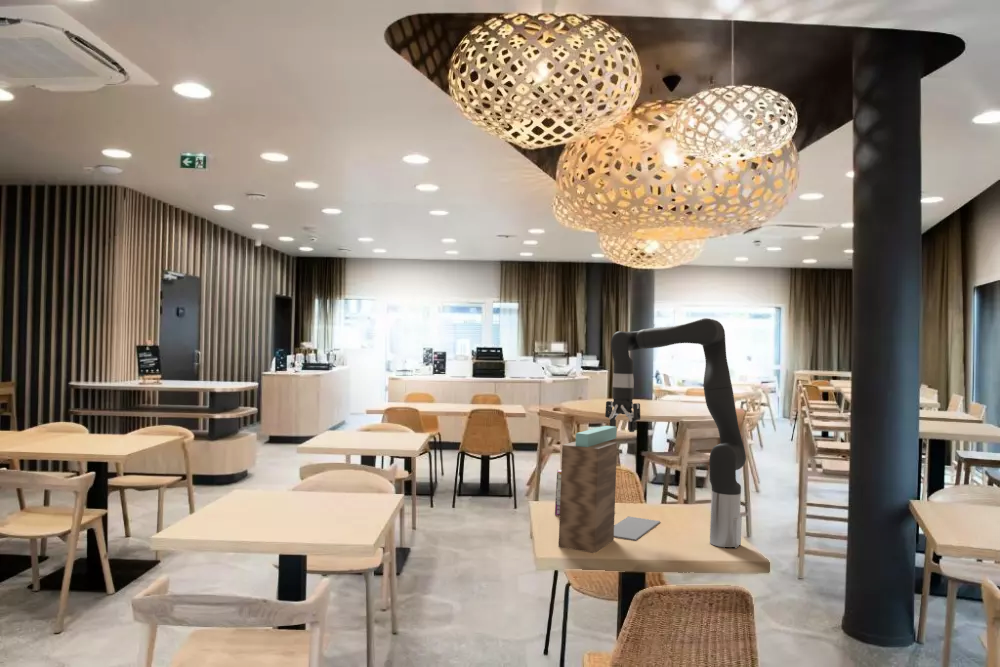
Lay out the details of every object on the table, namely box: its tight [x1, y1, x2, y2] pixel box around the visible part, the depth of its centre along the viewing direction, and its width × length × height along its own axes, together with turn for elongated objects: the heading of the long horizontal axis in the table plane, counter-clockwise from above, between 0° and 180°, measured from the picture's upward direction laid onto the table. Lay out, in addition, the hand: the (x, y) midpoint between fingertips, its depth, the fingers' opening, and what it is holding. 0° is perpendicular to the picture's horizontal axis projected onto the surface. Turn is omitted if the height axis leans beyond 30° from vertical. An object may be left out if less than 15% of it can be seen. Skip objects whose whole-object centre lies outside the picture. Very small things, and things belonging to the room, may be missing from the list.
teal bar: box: [575, 425, 618, 447], centre depth 239 cm, size 4×28×4 cm, turn 152°
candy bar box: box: [554, 469, 561, 516], centre depth 272 cm, size 11×5×16 cm, turn 84°
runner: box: [614, 516, 661, 542], centre depth 255 cm, size 12×30×1 cm, turn 152°
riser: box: [558, 440, 618, 553], centre depth 234 cm, size 12×18×32 cm, turn 152°
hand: (622, 430), depth 263 cm, fingers open, 8 cm apart
